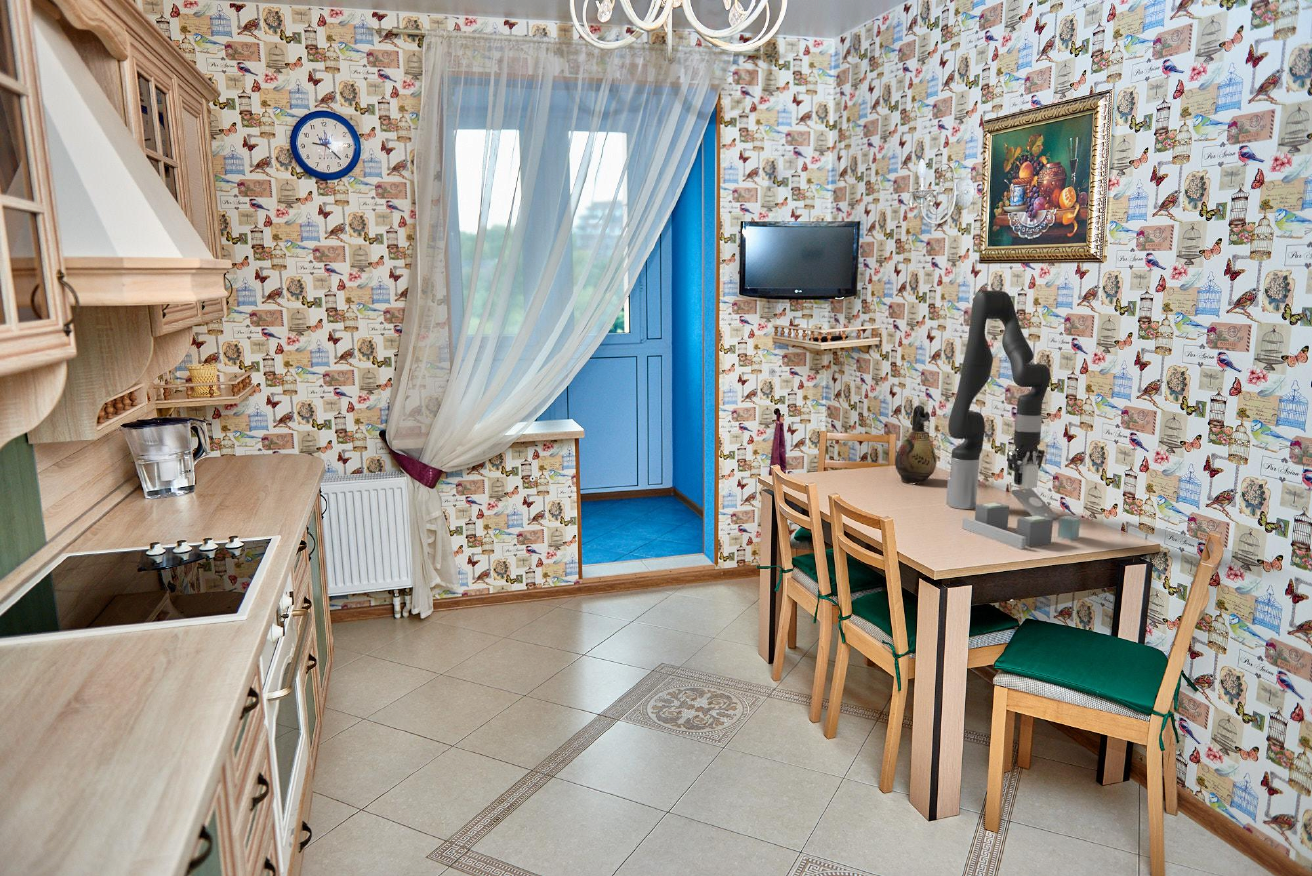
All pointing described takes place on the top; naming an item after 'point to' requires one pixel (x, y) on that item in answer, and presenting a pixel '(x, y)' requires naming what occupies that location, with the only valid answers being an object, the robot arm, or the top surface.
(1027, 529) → the rail mount
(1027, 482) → the module
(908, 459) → the ceramic jug
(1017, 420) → the robot arm
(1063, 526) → the block
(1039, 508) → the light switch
